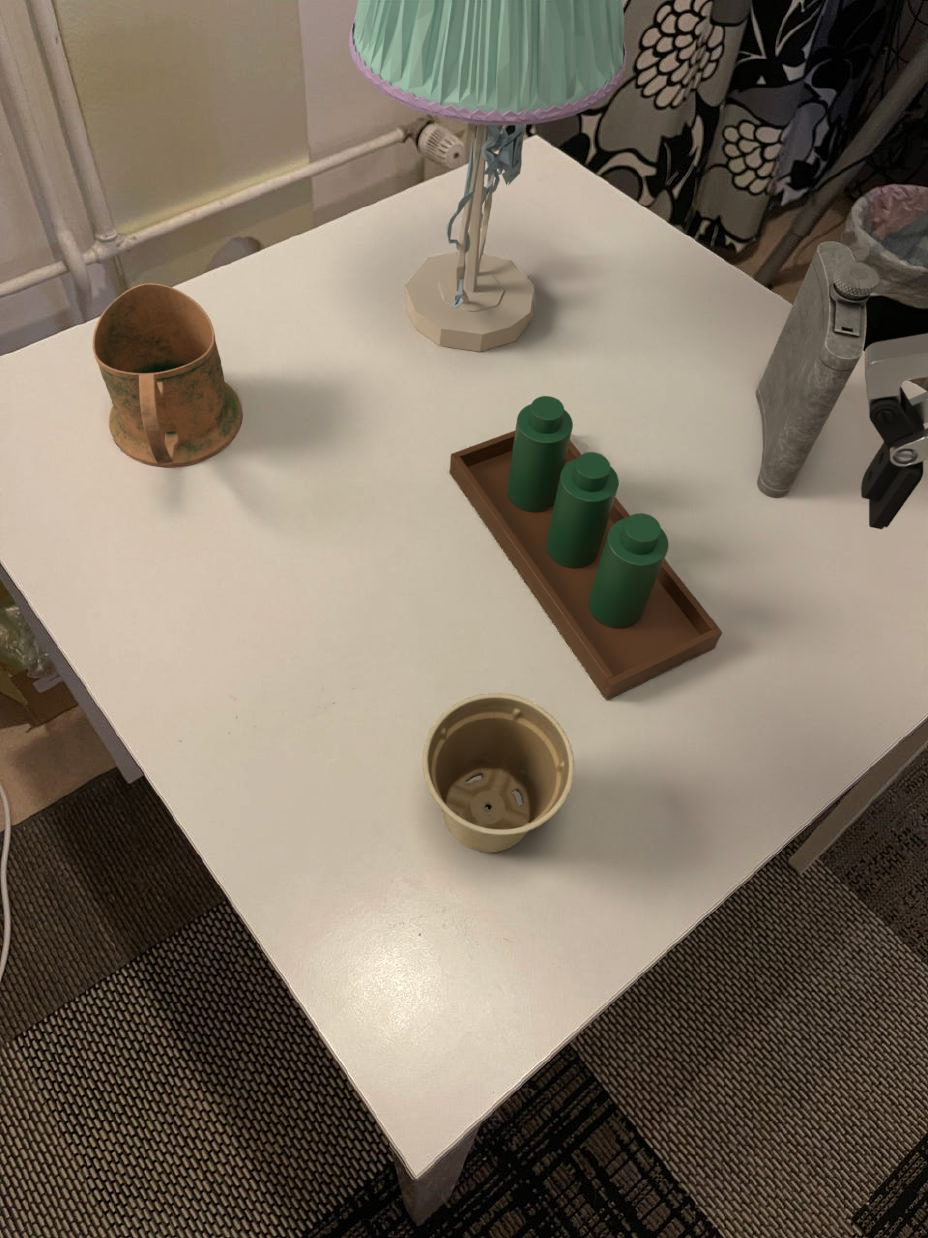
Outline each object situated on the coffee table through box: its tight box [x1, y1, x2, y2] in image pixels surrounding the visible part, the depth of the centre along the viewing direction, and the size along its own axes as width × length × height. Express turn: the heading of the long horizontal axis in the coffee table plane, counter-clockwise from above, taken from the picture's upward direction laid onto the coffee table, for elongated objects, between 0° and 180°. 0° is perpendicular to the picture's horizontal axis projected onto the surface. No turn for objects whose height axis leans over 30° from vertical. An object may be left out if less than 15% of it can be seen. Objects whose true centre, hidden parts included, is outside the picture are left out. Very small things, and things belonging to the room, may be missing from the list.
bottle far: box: [507, 395, 574, 512], centre depth 75 cm, size 4×4×10 cm
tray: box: [449, 430, 724, 701], centre depth 75 cm, size 25×10×2 cm, turn 28°
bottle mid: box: [546, 451, 620, 568], centre depth 72 cm, size 4×4×10 cm
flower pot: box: [422, 692, 575, 853], centre depth 60 cm, size 9×9×9 cm
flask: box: [755, 241, 880, 499], centre depth 77 cm, size 4×14×18 cm, turn 171°
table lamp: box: [348, 0, 628, 353], centre depth 76 cm, size 22×22×40 cm
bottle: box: [588, 512, 669, 628], centre depth 69 cm, size 4×4×10 cm
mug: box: [92, 282, 243, 468], centre depth 76 cm, size 12×18×12 cm, turn 11°
